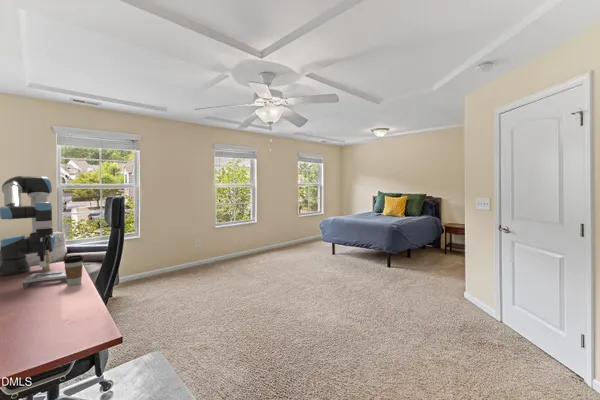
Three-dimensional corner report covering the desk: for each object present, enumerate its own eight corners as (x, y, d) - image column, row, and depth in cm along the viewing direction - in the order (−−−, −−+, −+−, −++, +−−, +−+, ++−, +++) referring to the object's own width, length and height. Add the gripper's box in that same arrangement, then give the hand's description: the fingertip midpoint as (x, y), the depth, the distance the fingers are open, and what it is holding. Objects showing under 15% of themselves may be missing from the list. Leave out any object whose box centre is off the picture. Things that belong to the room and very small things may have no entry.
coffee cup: (87, 281, 164) (86, 255, 164) (74, 286, 156) (73, 258, 155) (74, 281, 165) (73, 255, 164) (60, 286, 156) (59, 258, 156)
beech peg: (41, 276, 177) (40, 250, 176) (53, 275, 179) (52, 249, 179) (38, 279, 172) (37, 251, 171) (50, 277, 174) (49, 250, 174)
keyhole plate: (32, 280, 169) (32, 273, 169) (75, 275, 178) (75, 268, 178) (22, 288, 155) (22, 280, 155) (70, 282, 164) (69, 275, 164)
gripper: (42, 226, 183) (43, 261, 184) (29, 230, 163) (30, 269, 163) (57, 225, 187) (58, 260, 187) (46, 229, 166) (48, 267, 167)
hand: (45, 264), depth 175 cm, fingers open, 11 cm apart
